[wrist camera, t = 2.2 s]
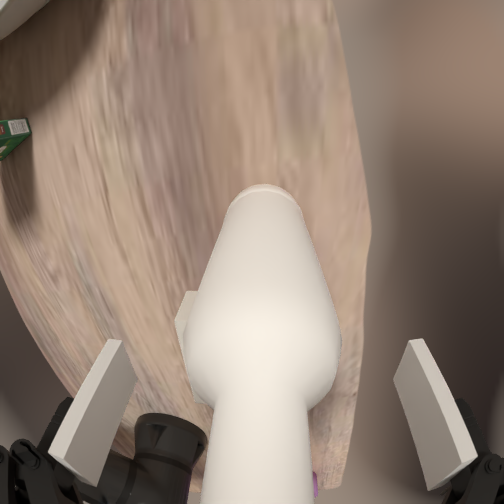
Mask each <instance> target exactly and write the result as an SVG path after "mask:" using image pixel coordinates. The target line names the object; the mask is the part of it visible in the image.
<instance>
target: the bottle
mask: <svg viewBox="0 0 504 504" xmlns="http://www.w3.org/2000/svg"><path fill="white" fill-rule="evenodd" d="M183 345H184V353H185V359H186V365H187V371H188V376H189V381H190V385H191V386H192V387H193V389H194V390H195V392H196V393H197V394H198V396H199V397H200V398H201V399H202V400H203V401H204V402H205V403H206V404H207V405H208V406H210V407H211V408H212V409H213V410H214V414H213V421H212V427H211V433H210V439H209V446H208V452H207V458H206V465H205V471H204V478H203V484H202V491H201V498H200V504H315V501H314V485H313V472H312V460H311V448H310V437H309V426H308V416H307V412H308V411H309V410H310V409H312V408H313V407H314V406H315V405H317V404H318V403H319V402H320V401H321V400H322V399H323V398H324V396H325V395H326V394H327V393H328V392H329V391H330V390H331V387H332V384H333V381H334V378H335V375H336V372H337V368H338V363H339V359H340V354H341V347H342V337H341V331H340V326H339V321H338V318H337V314H336V311H335V308H334V305H333V302H332V299H331V296H330V293H329V290H328V287H327V284H326V281H325V278H324V275H323V272H322V269H321V266H320V264H319V261H318V258H317V255H316V252H315V249H314V247H313V244H312V241H311V238H310V236H309V233H308V230H307V227H306V225H305V222H304V219H303V215H302V211H301V208H300V207H299V205H298V204H297V202H296V201H295V200H294V198H293V197H292V196H291V194H290V193H288V192H287V191H285V190H284V189H282V188H280V187H279V186H274V185H270V184H259V185H252V186H250V187H248V188H246V189H245V190H243V191H241V192H240V193H239V194H238V195H237V196H236V197H235V199H234V200H233V201H232V203H231V204H230V205H229V208H228V211H227V213H226V216H225V218H224V224H223V226H222V229H221V231H220V234H219V236H218V239H217V242H216V244H215V247H214V249H213V252H212V255H211V257H210V260H209V263H208V265H207V268H206V270H205V273H204V276H203V279H202V281H201V284H200V287H199V289H198V292H197V295H196V298H195V300H194V303H193V306H192V309H191V311H190V314H189V317H188V320H187V323H186V326H185V329H184V332H183Z"/></svg>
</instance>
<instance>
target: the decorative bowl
mask: <svg viewBox="0 0 504 504" xmlns="http://www.w3.org/2000/svg"><path fill="white" fill-rule="evenodd" d="M49 1H50V0H0V40H2V39H3V38H5V37H6V36H8V35H9V34H10V33H12V32H13V31H14V30H16V29H17V28H18V27H20V26H21V25H22V24H23V23H24V22H26V21H27V20H28V19H29V18H30V17H31V16H32V15H33V14H35V13H36V12H37V11H39V10H40V9H41V8H43V7H44V6H45V5H46V4H47V3H48V2H49Z"/></svg>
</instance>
